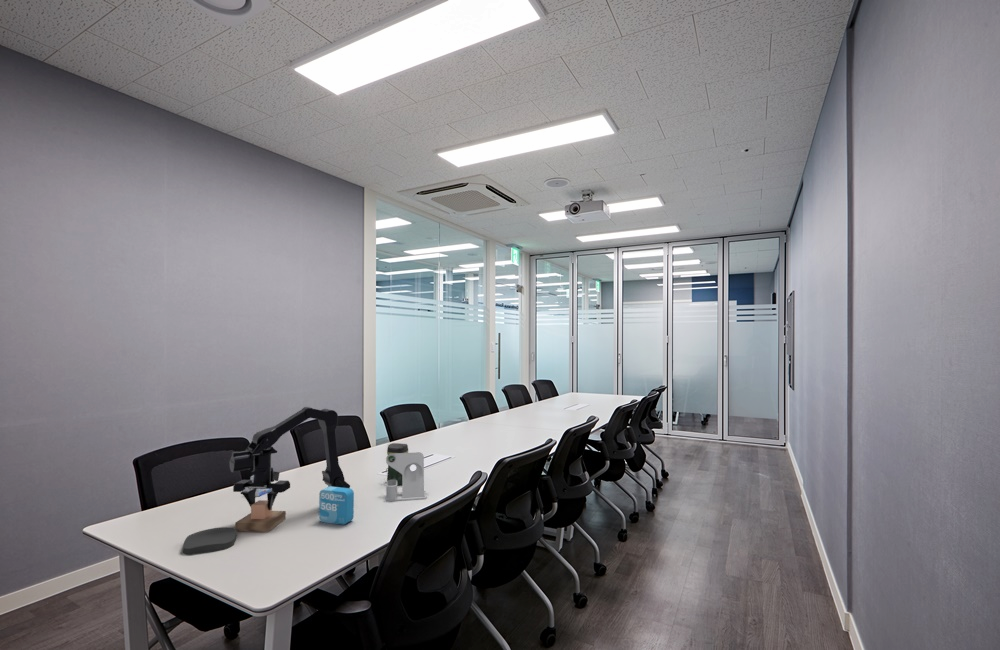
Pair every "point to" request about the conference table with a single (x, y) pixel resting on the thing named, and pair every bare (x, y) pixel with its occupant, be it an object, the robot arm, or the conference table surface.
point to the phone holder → (407, 477)
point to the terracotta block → (260, 510)
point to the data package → (336, 505)
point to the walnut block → (260, 522)
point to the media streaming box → (210, 540)
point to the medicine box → (260, 491)
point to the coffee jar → (394, 449)
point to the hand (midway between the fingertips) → (261, 509)
